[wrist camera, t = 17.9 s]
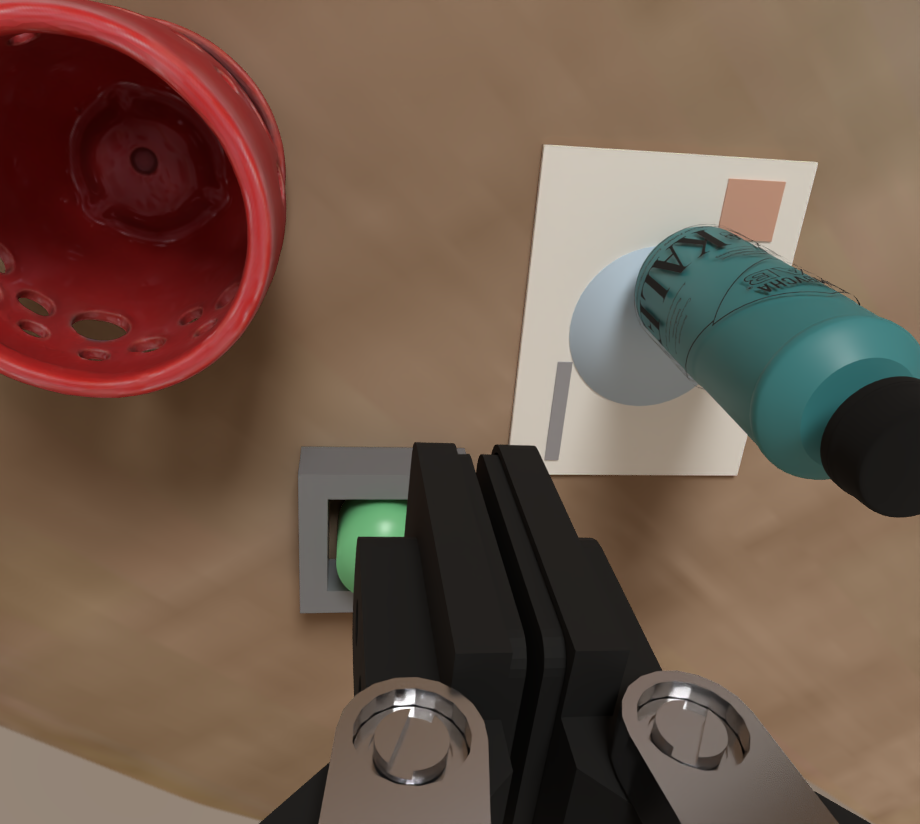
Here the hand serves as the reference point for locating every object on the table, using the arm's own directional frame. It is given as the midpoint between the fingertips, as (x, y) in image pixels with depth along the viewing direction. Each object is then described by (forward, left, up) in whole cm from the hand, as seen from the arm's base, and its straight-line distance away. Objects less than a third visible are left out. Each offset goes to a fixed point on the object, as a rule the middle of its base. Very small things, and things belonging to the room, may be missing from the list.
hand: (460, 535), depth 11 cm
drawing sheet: (+14, -7, -30) cm, 34 cm away
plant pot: (-11, 0, -30) cm, 32 cm away
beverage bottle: (+15, -4, -30) cm, 34 cm away
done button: (0, -19, -29) cm, 35 cm away
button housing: (0, -19, -30) cm, 35 cm away
